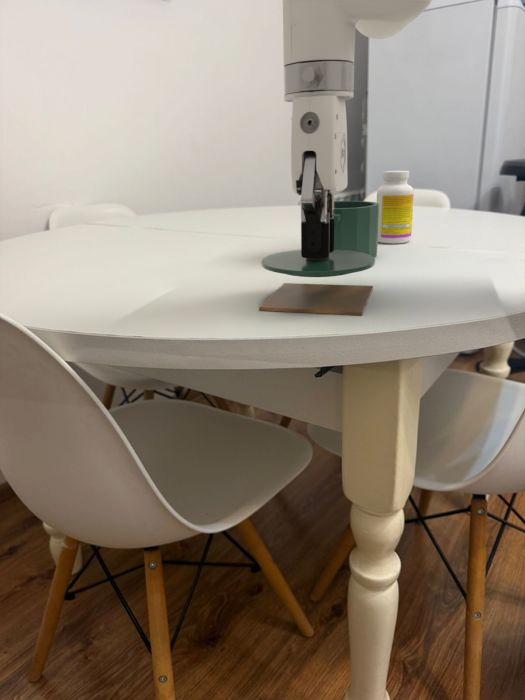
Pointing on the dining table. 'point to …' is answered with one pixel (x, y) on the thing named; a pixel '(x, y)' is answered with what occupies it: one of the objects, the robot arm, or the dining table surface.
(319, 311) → the plate
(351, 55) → the robot arm
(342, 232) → the pot
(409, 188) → the supplement bottle
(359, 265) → the pot lid
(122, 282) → the dining table surface
